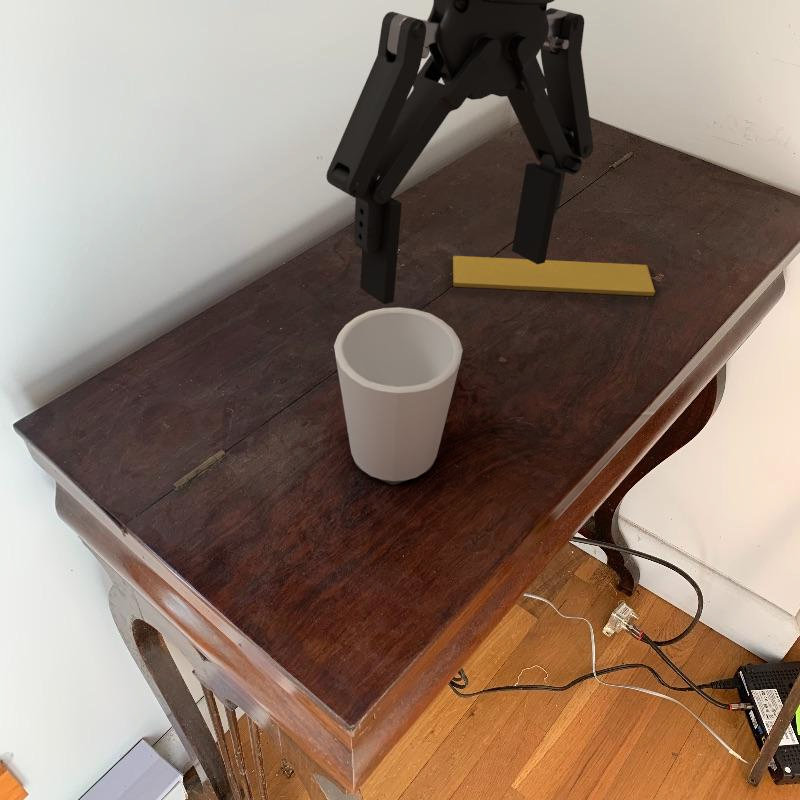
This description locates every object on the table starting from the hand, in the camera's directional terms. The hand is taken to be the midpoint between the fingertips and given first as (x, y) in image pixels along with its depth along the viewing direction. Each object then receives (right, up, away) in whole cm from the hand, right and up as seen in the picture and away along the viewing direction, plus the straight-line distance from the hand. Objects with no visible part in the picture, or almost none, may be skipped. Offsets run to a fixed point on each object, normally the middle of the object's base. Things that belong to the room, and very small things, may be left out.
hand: (457, 275), depth 55 cm
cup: (-4, -14, +16) cm, 21 cm away
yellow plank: (+13, +5, +34) cm, 37 cm away
